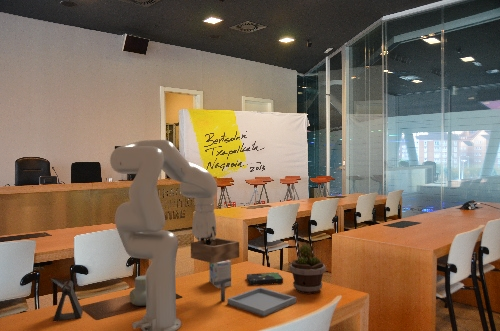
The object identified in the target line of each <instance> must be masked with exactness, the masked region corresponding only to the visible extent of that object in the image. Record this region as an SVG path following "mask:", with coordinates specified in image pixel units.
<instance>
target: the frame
mask: <svg viewBox="0 0 500 331" xmlns="http://www.w3.org/2000/svg"><path fill="white" fill-rule="evenodd" d="M238 258H240V241H238V240H237V241H236V240H231V239H225V238H220V237H215V241H212V242H211V245H205V244H204V240H202V241H198V240H197V241H193V242H192V241H191V242H190V259H194V260H197V261H202V262H207V263H213V264H214V263H218V262H222V261H226V260H229V261H231V260H233V259H238Z"/></svg>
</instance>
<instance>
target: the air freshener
mask: <svg viewBox="0 0 500 331" xmlns="http://www.w3.org/2000/svg"><path fill="white" fill-rule="evenodd" d="M129 299H130V302H131V304H132V305H134V306H136V307H138V306H139V307H142V306H146V274H144V275H139V276H136V277H135V278H134V288H133V289H132V290H131V291H130V292H129Z"/></svg>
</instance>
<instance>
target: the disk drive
mask: <svg viewBox="0 0 500 331" xmlns="http://www.w3.org/2000/svg"><path fill="white" fill-rule="evenodd" d="M246 280H247V282H248V284H249V286H263V284H266V285H275V284H274V283H283V284H284V278H283V277H282V275H281V274H280V273H279V272H261V273H249V274H248V273H247V274H246ZM272 283H273V284H272Z"/></svg>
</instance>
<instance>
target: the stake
mask: <svg viewBox="0 0 500 331" xmlns="http://www.w3.org/2000/svg"><path fill="white" fill-rule="evenodd" d="M229 281H231V282H232V277H231V278H230V277H228V278H225V279H221V280H218V281H215V282H214V285H219V284H221V288H220V301H221V302H222V303H224V302H226V287H225V283H226V282H229ZM214 285H213V286H214Z"/></svg>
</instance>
